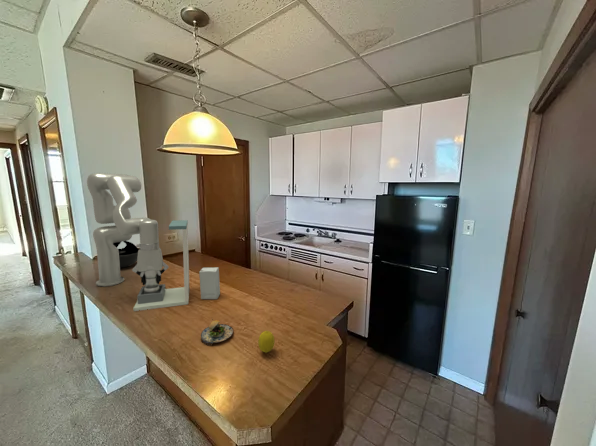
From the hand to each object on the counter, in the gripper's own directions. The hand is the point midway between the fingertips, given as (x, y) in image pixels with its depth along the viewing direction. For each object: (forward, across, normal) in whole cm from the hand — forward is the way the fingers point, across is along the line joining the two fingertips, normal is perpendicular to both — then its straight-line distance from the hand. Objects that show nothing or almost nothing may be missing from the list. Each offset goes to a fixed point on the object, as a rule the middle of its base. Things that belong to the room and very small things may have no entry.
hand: (151, 283), depth 118 cm
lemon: (+9, +42, -54) cm, 69 cm away
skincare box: (+9, +26, -4) cm, 28 cm away
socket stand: (+9, +5, 0) cm, 10 cm away
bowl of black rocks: (+9, -25, +59) cm, 64 cm away
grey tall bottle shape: (+7, 0, 0) cm, 7 cm away
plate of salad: (+9, +27, -39) cm, 49 cm away
